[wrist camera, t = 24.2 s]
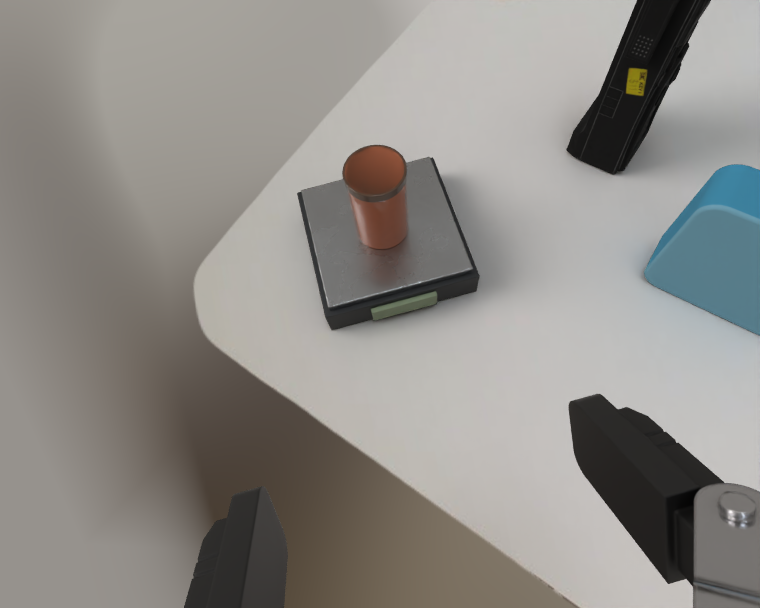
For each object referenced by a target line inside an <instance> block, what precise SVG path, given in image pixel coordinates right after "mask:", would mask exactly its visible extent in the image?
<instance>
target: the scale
mask: <svg viewBox="0 0 760 608" xmlns="http://www.w3.org/2000/svg"><path fill="white" fill-rule="evenodd" d="M430 159H431V161H432V164H433V167H434V169H435V172H436V174H437V177H438V179H439V182H440V185H441V187H442V190H443V192H444V195H445V198H446V200H447V203H448V205H449V208H450V210H451V213H452V216H453V218H454V221H455V223H456V226H457V229H458V231H459V234H460V236H461V239H462V241H463V244H464V247H465V249H466V252H467V254H468V257H469V260H470V262H471V265H472V267H473V271H472V273H469V274H465V275H461V276H458V277H454V278H450V279H447V280H443V281H439V282H435V283H432V284H428V285H424V286H421V287H417V288H413V289H409V290H406V291H402V292H398V293H394V294H391V295H387V296H383V297H380V298H376V299H372V300H368V301H365V302H361V303H357V304H354V305H350V306H346V307H342V308H339V309H335V310H331V311H330V310H329V308H328V304H327V300H326V296H325V291H324V287H323V283H322V278H321V274H320V270H319V266H318V261H317V257H316V253H315V248H314V244H313V240H312V235H311V231H310V227H309V223H308V218H307V214H306V210H305V205H304V201H303V197H302V192H299V193H297V195H298V199H299V203H300V208H301V212H302V216H303V221H304V225H305V230H306V234H307V238H308V243H309V247H310V252H311V256H312V260H313V265H314V269H315V274H316V278H317V282H318V287H319V291H320V296H321V300H322V304H323V309H324V313H325V317H326V320H327V322H328V324H329V326H330V328H331V330H333V329H337V328H341V327H345V326H348V325H352V324H356V323H359V322H363V321H367V320H370V319H373V320H374V321H375V320H379V319H382V318H386V317H390V316H393V315H397V314H401V313H404V312H408V311H412V310H416V309H419V308H423V307H427V306H430V305H434V304H437V301H441V300H444V299H448V298H452V297H456V296H459V295H463V294H467V293H470V292H474V291H476V290H477V285H478V280H479V274H478V271H477V269H476V266H475V264H474V261H473V258H472V256H471V253H470V251H469V248H468V246H467V243H466V241H465V238H464V235H463V233H462V230H461V228H460V225H459V223H458V220H457V218H456V215H455V212H454V210H453V207H452V205H451V202H450V200H449V197H448V194H447V192H446V189H445V187H444V184H443V182H442V179H441V177H440V174H439V171H438V169H437V166H436V164H435V161H434V159H433V158H430Z"/></svg>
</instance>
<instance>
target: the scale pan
mask: <svg viewBox="0 0 760 608" xmlns="http://www.w3.org/2000/svg"><path fill="white" fill-rule="evenodd" d="M406 165H407V180H406V185H407V203H408V222H409V229H408V232H407V235H406V237H405V238H404V239H403V240H402V241H401V242H400V243H399V244H398V245H396V246H394V247H392V248H388V249H375V248H371V247H369V246H367V245H366V244H364V243H363V242H362V241H361V240H360V238H359V236H358V234H357V230H356V226H355V222H354V217H353V213H352V209H351V204H350V200H349V196H348V191H347V189H346V187H345V184H344V180H339V181H335V182H331V183H327V184H324V185H320V186H316V187H312V188H308V189H304V190H301V192H302V197H303V201H304V205H305V210H306V214H307V218H308V223H309V227H310V231H311V235H312V240H313V244H314V248H315V253H316V257H317V261H318V266H319V270H320V274H321V278H322V283H323V287H324V291H325V296H326V300H327V304H328V308H329V310H330V311H331V310H335V309H339V308H342V307H346V306H350V305H354V304H357V303H361V302H365V301H368V300H372V299H376V298H380V297H383V296H387V295H391V294H394V293H398V292H402V291H406V290H409V289H413V288H417V287H421V286H424V285H428V284H432V283H435V282H439V281H443V280H447V279H450V278H454V277H458V276H461V275H465V274H469V273H472V271H473V267H472V265H471V262H470V260H469V257H468V254H467V252H466V249H465V247H464V244H463V241H462V239H461V236H460V234H459V231H458V229H457V226H456V223H455V221H454V218H453V216H452V213H451V210H450V208H449V205H448V203H447V200H446V198H445V195H444V192H443V190H442V187H441V185H440V182H439V179H438V177H437V174H436V172H435V169H434V167H433V164H432V161H431V159H430V157H427V158H423V159H419V160H415V161H412V162H408V163H406Z"/></svg>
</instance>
